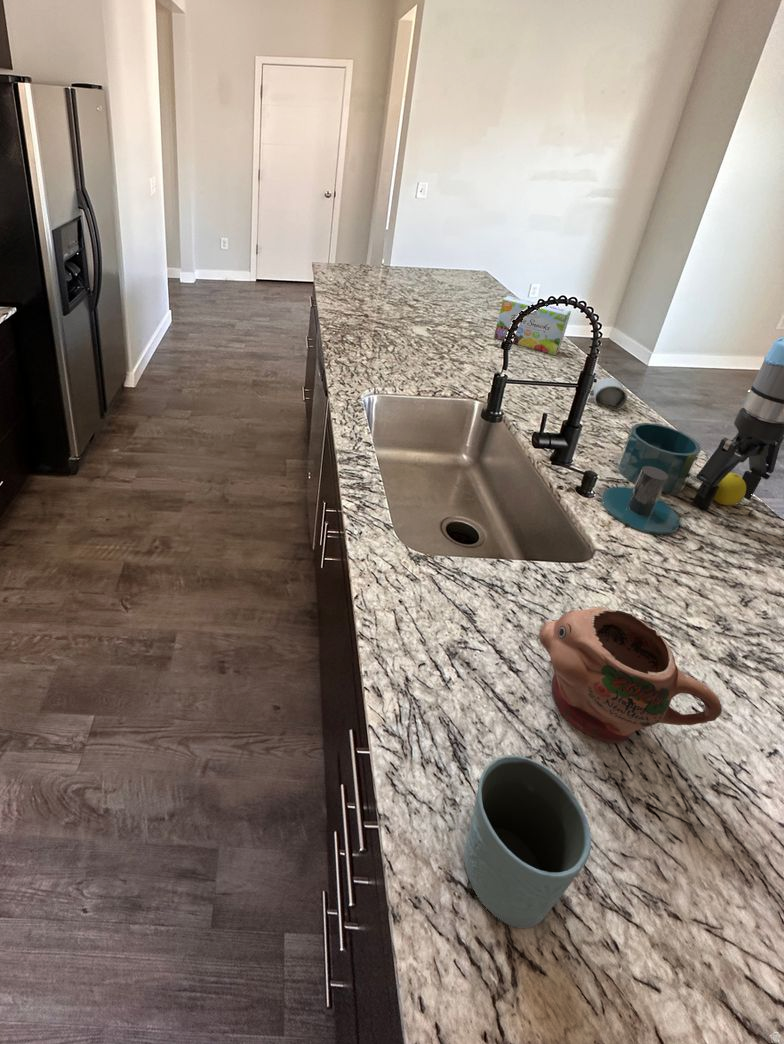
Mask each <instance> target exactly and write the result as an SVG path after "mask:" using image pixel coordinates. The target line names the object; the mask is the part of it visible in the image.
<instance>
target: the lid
mask: <svg viewBox="0 0 784 1044" xmlns="http://www.w3.org/2000/svg"><path fill="white" fill-rule="evenodd" d="M667 479H668V475H667V474H666V473H665V472H664V471H662V470H660V469H658V468H655V467H651V466H644V467H643V468H642V470H641V472H640V474H639V477H638V479H637V482H636V484H634V487H633V488H630V487H625V486H624V487H623V486H615V487H610V488H607V489H606V490H604V491H603V493H602V495H601V497H600V499H601V500H600V501H601V504H602V506H603V508H604V510H606V512H607V513H608V514H610V515H611V516H612V517H613V518H614V519H616V520H617V521H618V522H620V523H621V524H624V525H625V526H627V527H630V528H632V529H634V530H637V531H640V532H643V533H646V534H651V535H661V536H663V535H671V534H673V533H674V532H676V531H678V529H679V527H680V518H679V515H677V513H676V512H675V510H673V508H671V506H669V505H668V504H667V503H665V502H664V501H663V500H661V499H660V497H661V495H662V494H663V493H662V491H663V488H664V486H665V484H666V482H667Z"/></svg>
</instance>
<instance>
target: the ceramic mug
mask: <svg viewBox="0 0 784 1044" xmlns="http://www.w3.org/2000/svg"><path fill="white" fill-rule="evenodd" d="M590 395H593V396H588V397H589V399H588V401H587V402H589V403H595V406H599V403H602V404H604V405H607V406H611V407H616V410H621V409H623V408H624V407H625V406H626V405H627V402H628V394H627V391H626V390H625V388H624V386H623V384H622V383H621V382H620V381H619V380H618V379H616V378H613V377H603V378H600V379H598V380H597V381H596V382H595V384H594V385H593V388H592V391H591V394H590ZM598 402H599V403H598Z"/></svg>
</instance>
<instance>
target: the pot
mask: <svg viewBox="0 0 784 1044" xmlns="http://www.w3.org/2000/svg"><path fill="white" fill-rule="evenodd" d="M701 451H702V449H701V445H700V444H699V442H698V441H697V440H695V439H694V438H693V437H691V436H690V435H688V434H687V433H685V432H683V431H681V430H678V429H676V428H673V427H670V426H667V425H663V424H659V423H653V422H641V423H635V424H634V425H633V426H631V428H630V430H629V433H628V435H627V438H626V441H625V442H624V446H623V448H622V451H621V453H620V456H619V458H618V462H617V471H619V473H620V474H621V475H622V477H624V478H625V479H626V480H627V481H629V482H630V483H632V484H634V485H635V484H636V482H637V479H638V477H639V474H640V472H641V470H642V468H643V467H644V466H651V467H655V468H658V469H660V470H662V471H664V472H665V473H666V474H667V475H668V479H667V482H666V484H665V486H664V488H663V491H662V493H661V494H667V495H673V494H678V493H681V492H682V491H683V489H684V488H685V486H686V484H687V482H688V480H689V477H690V475H691V473H692V471H693V469H694V467H695V465H696V462H697V460H698V458H699V456H700V454H701Z"/></svg>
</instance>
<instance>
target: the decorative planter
mask: <svg viewBox="0 0 784 1044" xmlns="http://www.w3.org/2000/svg"><path fill="white" fill-rule="evenodd" d="M538 639H539V642H540V645H542V647H543V648H544V649H545V650H546V652H547V654H548V655H549V658H550V662H551V666H552V669H553V671H554V674H553V676H552V679H551V684H550V685H551V686H550V689H551V690H550V691H551V696H552V699H553V702H554V704H555V706H556V708H557V709H558V710H559V712H560V713H561V714H562V716H563V717H564V719H566V720H567V722H569V723H570V724H571V725H572V726H573V727H575V728H576V729H577V730H579V731H581V732H582V733H583V734H585V735H587V736H589V737H591V738H594V739H596V740H599V741H602V742H605V743H607V744H619V743H622V742H625V741H627V740H628V739H629V738H630V736H632V734H634V732H637V731H640V730H643V729H645V728H646V729H647V728H650V727H652V726H655V725H657V724H663V725H664V724H665V725H672V726H694V725H698V724H706V723H708V722H715V721H716V720H717V719H718V718H719V717H720V716H721V714H722V712H723V708H722V703H721V700H720V699H719V697H718V695H717V694H716V693H715V692H714V691H713V690H712V689H711V688H709V687H708V686H707V685H705V684H704V683H703V682H701V681H699V680H697V679H695V678H694V677H692V676H690V675H689V674H687V673H685V672H683V671H682V670H681V669H679V667H678V666H677V664H676V660H675V655H674V652H673V650H672V648H671V647H670V644H669V643H668V642H667V641H666V639H665V638H664V637H663V636H662V635H661V634H660V633H659V632H658V631H657V630H656V629H654V628H653V627H651V626H650V625H649V624H648V623H646V622H644V621H643V620H642V619H640V618H638V617H636V616H635V615H633V614H632V613H628V612H625V611H621V610H616V609H611V608H606V607H603V606H595V607H591V608H587V609H573V610H572V609H571V610H570V611H567V612H565V613H563V614H562V615H560V617H559V618H558V619H555V620H550V621H547V622H545V623H544V624H543V625H542V626H541V627H540V630H539V633H538ZM679 694H687V695H691V696H693V697H695V698H697V699H698V700H700V701H701V702H702V704H703V705H704V710H703V711H700V712H696V713H688V714H686V713H685V714H683V713H680V712H678V711H677V710H675V709H673V708H672V707H671V706H670V705H671V702H672V699H673V698H675V697H676V696H677V695H679Z"/></svg>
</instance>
